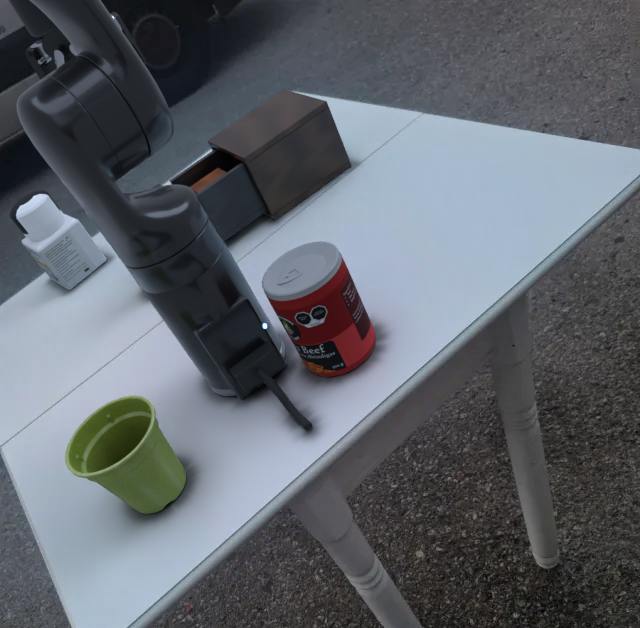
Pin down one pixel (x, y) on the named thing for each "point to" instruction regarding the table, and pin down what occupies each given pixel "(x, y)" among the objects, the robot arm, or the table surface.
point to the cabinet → (286, 148)
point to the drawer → (225, 192)
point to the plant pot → (127, 454)
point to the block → (207, 180)
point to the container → (56, 239)
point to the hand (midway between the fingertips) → (120, 117)
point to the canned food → (320, 308)
